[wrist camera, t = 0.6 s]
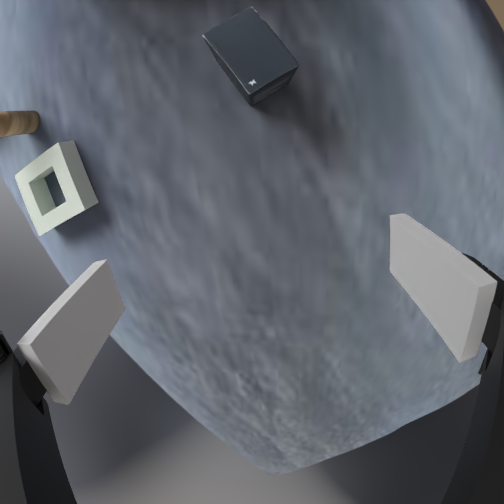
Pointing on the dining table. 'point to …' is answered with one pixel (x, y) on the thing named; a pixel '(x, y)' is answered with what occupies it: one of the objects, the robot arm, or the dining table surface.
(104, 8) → the dining table surface
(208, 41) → the box
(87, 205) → the hole block
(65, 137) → the dining table surface
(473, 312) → the robot arm
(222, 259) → the dining table surface
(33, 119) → the long pin
